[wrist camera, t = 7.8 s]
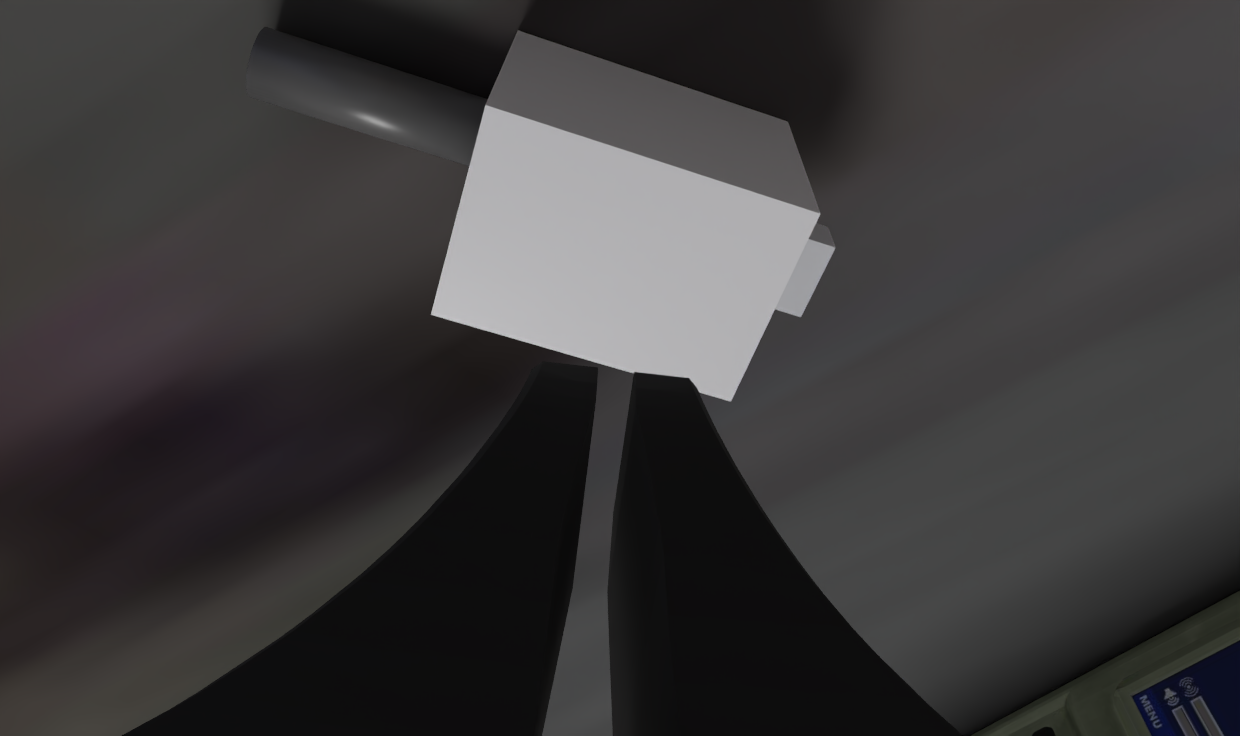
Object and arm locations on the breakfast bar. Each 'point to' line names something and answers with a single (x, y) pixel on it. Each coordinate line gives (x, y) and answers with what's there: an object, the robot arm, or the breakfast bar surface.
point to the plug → (590, 202)
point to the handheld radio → (1149, 687)
